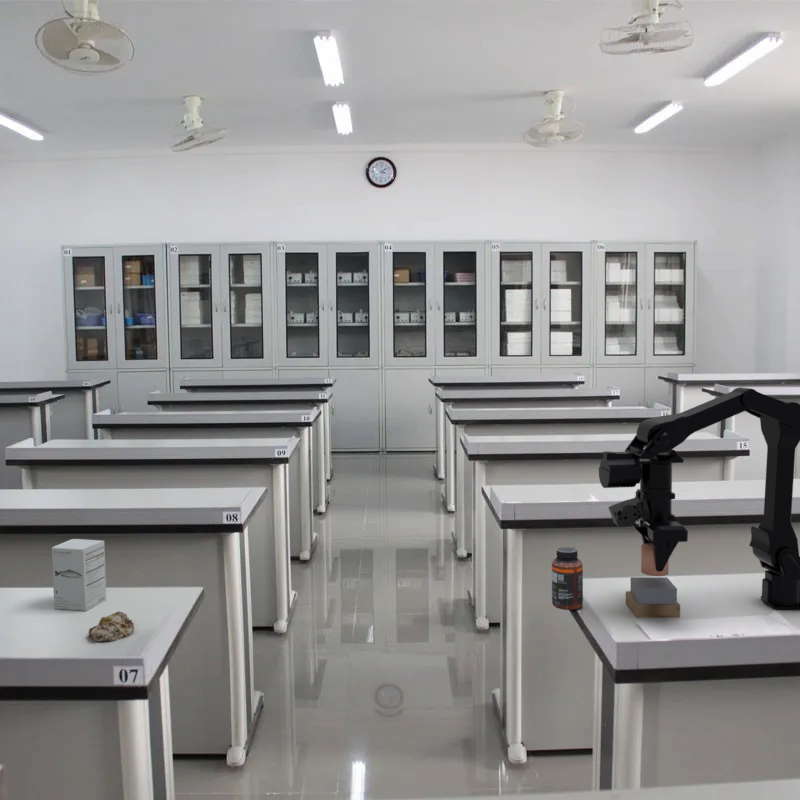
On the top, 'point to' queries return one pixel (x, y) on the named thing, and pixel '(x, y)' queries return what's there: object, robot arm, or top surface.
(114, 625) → the mineral rock
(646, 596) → the tower top
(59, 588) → the supplement box
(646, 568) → the brick cylinder
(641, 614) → the tower base
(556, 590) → the supplement bottle
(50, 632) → the top surface
